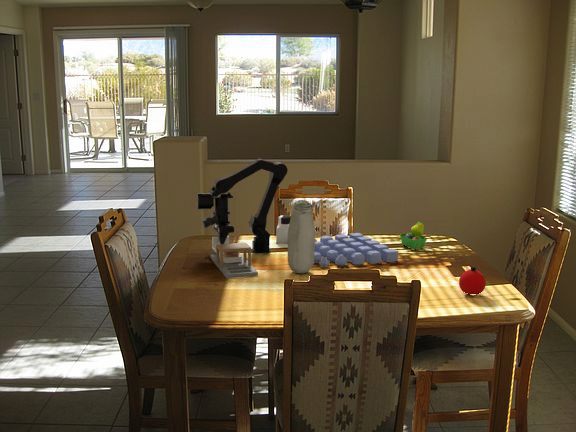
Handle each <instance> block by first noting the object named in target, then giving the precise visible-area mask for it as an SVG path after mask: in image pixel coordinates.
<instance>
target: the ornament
mask: <svg viewBox="0 0 576 432" xmlns="http://www.w3.org/2000/svg"><path fill="white" fill-rule="evenodd" d="M458 285H459V288H460V290H461V291H462V293H464V292H465V293H468V294H479V293H480V294H482V293H483V292H484V290H485V288H486V285H487V281H486V278H485V275H484V274H483V273H482V272H480V271H479V270H477V267H475V266H471V267H470V269H468V270H466V271H463V272H462V274H461V275H460V276H459V280H458ZM481 292H482V293H481ZM465 293H464V294H465ZM480 294H479V295H480Z"/></svg>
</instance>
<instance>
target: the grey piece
mask: <svg viewBox="0 0 576 432" xmlns="http://www.w3.org/2000/svg"><path fill="white" fill-rule="evenodd" d="M219 251H220V257H219ZM230 251H239V257H240V256H242V262H234V263H224V262H223V252H230ZM242 251H243V255H242V254H241V253H240V252H242ZM209 257H210V259H211V260H212V262H213V263H214V264H215V266H216V267H217V268H218V270H219V271H220V273H222V275H223V276H224V277H225V279H238V278H248V277H259V271H257V269H256V268H255V267H254V266H253V264H252V246H250V245H249V244H248V243H247V242H237V243H234V242H233V243H229V244H218V245H216V252H215V253H210V256H209Z"/></svg>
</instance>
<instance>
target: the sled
mask: <svg viewBox="0 0 576 432" xmlns="http://www.w3.org/2000/svg"><path fill="white" fill-rule="evenodd" d="M218 244H220V240H219V236H212V237H211V249H212V250H213V251H214V252H215V253H216V245H218ZM224 244H230V236H229V235H228V236H227V238H226V241H225V243H224ZM242 256H243V255H242ZM242 256H240V257H226V258H225V257H224V252H223V262H224V263H234V262H242ZM219 257H220V251H219Z"/></svg>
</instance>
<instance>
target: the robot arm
mask: <svg viewBox="0 0 576 432" xmlns="http://www.w3.org/2000/svg"><path fill="white" fill-rule="evenodd" d="M261 170H264V171H267V172H269V178H268V183H267V186H266V188H265V191H264V193H263V196H262V199H261V202H260V203H259V204H260V205H259V206H258V209H257V212H256V213H255V214H251V215H250V219H249V221H248V223H247V224H248V229H249V231H250V232H251V233H252V234H253V240H252V244H251V245H252V246H251V251H253V252H254V253H255V254H269V253H271V250H270V238H271V234H270V233H269V231H267V230H266V228H267V223H268V222H267V221H268V220H267V218H268V215H269V212H270V209H271V206H272V203H273V201H274V198H275V196H276V194H277V190H278V188H279V185H280V184H281V183H282V182H283V180H284V179H285V177H286V175H287V174H288V167H287V166H286V164H284V163H283V162H280V161H275V162H271V161H268V160H264V159H262V158H257V159H256V160H254V161H252V162H251V163H249V164H247V165H245V166H244V167H242V168H241V169H239V170H236V171H235V172H233V173H231V174H227V175H223V176H221V177H218V178H216V179H214V181H213V186H212V188H211V189H210V190H209V192H204V193H203V192H197V193H196V200H195V201H196V202H195V205H196V210H198V211H199V210H212V208H213V207H214V209H213V211H212V214H209V215H207V216H205V217H202V218H201V219H200V221H201V223H202V226H203V227H204V228H205V229H207V228H209V227H210V226H213V225H214V227H213V230H215V232H217V235H218V236H219V240H220V244H224V243H225V241H226V238H227V236H229V234H232V233H235V227H234V226H233V225H232V224H231V221H230V220H229V217H230V216H229V215H230V214H231V212H230V210H229V206H230V205H229V200H230V199H233V198H234V196H233V195H232V194H231V192H230V190H231V189H232V188H233V187H234V186H235V185H236V184H238V183H239V182H242V180H244V179H246V178H248V177H250V176H252V175H253V174H255V173H257V172H259V171H261ZM218 236H217V237H218Z"/></svg>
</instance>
